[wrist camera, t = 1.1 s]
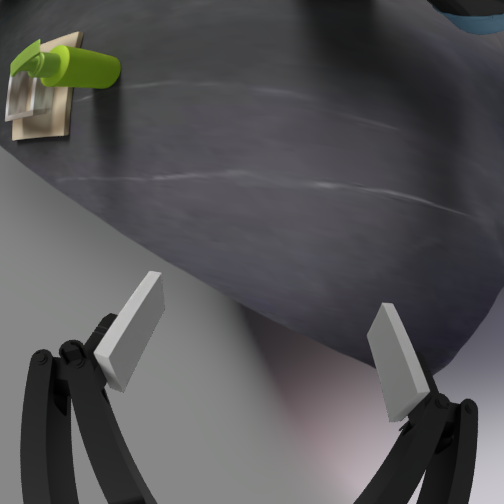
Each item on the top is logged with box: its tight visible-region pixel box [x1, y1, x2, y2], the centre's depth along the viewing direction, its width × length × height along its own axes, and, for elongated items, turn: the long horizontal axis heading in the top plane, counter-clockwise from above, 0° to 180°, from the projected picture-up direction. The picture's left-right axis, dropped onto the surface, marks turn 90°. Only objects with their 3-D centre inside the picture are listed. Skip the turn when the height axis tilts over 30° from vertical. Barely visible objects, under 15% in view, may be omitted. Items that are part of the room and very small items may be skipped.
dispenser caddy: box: [5, 32, 83, 140], centre depth 29 cm, size 20×18×6 cm
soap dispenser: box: [11, 39, 121, 89], centre depth 23 cm, size 6×7×20 cm
